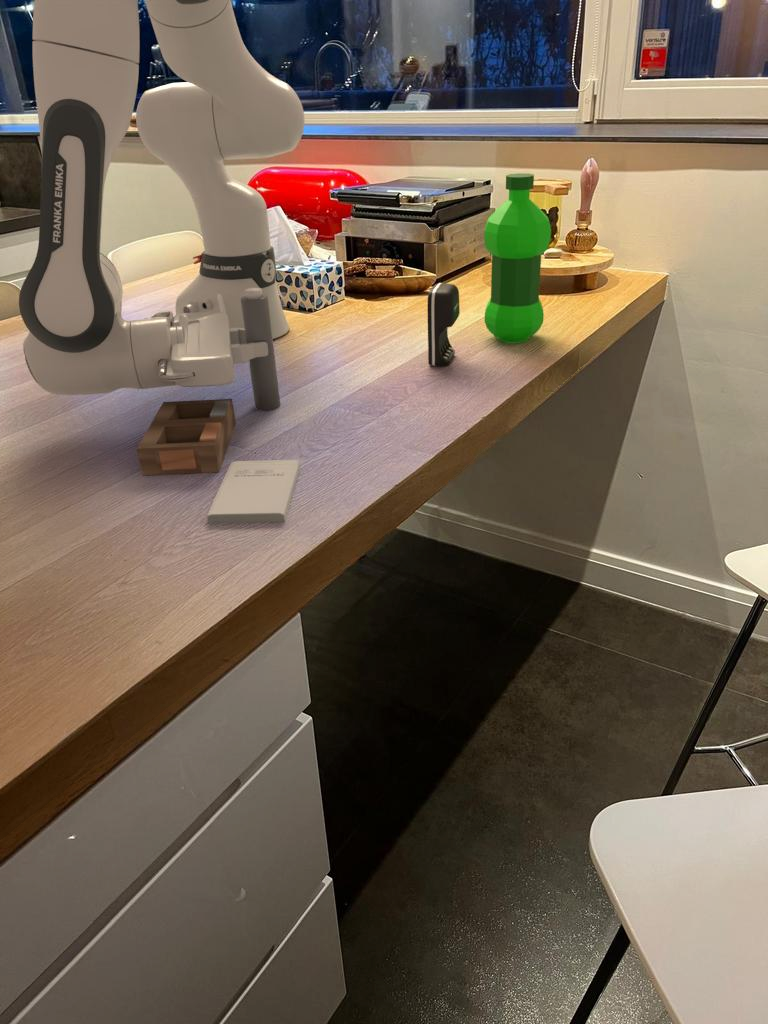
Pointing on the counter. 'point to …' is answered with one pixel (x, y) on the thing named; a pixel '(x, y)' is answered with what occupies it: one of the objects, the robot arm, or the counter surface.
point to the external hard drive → (255, 492)
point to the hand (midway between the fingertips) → (266, 341)
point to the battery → (441, 322)
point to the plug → (265, 367)
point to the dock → (187, 437)
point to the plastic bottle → (516, 262)
